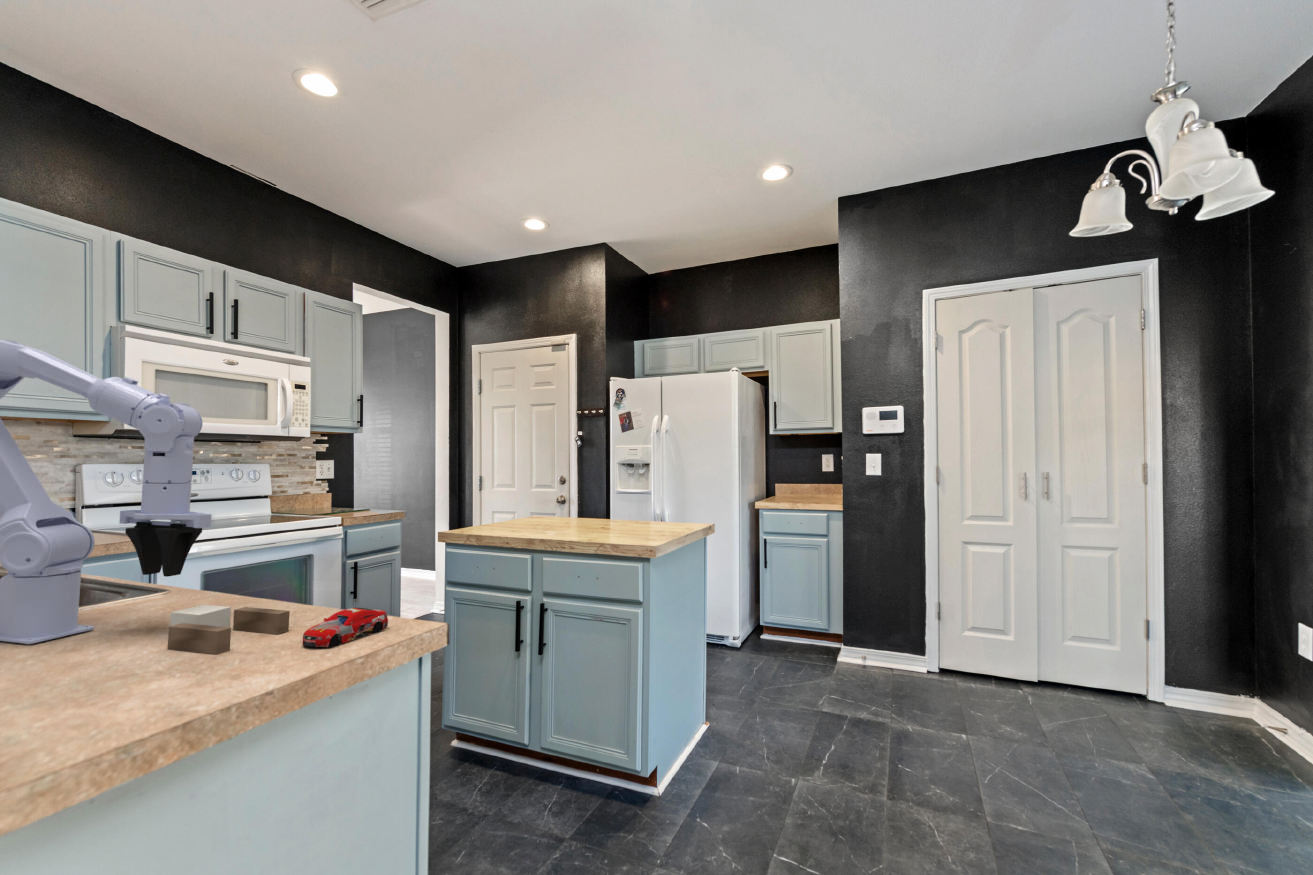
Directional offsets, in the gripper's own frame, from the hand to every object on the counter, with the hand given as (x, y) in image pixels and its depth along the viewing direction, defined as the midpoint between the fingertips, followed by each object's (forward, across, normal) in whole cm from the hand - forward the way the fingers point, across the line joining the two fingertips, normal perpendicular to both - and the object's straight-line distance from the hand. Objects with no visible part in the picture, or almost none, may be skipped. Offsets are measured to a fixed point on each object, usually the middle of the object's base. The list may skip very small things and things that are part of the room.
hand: (161, 574), depth 91 cm
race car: (+9, +27, +6) cm, 29 cm away
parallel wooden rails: (+8, +13, 0) cm, 15 cm away
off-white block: (+9, +8, 0) cm, 11 cm away
